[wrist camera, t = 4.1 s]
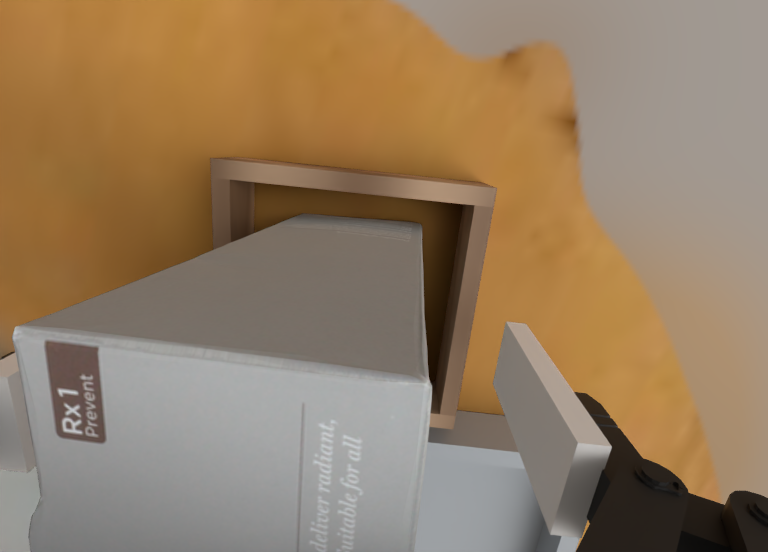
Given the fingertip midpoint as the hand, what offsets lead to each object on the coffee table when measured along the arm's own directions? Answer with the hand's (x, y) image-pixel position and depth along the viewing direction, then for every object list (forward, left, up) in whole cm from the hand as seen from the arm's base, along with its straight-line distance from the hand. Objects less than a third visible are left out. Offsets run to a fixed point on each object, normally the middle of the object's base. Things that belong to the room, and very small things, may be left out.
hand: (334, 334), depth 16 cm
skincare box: (0, 0, -6) cm, 6 cm away
